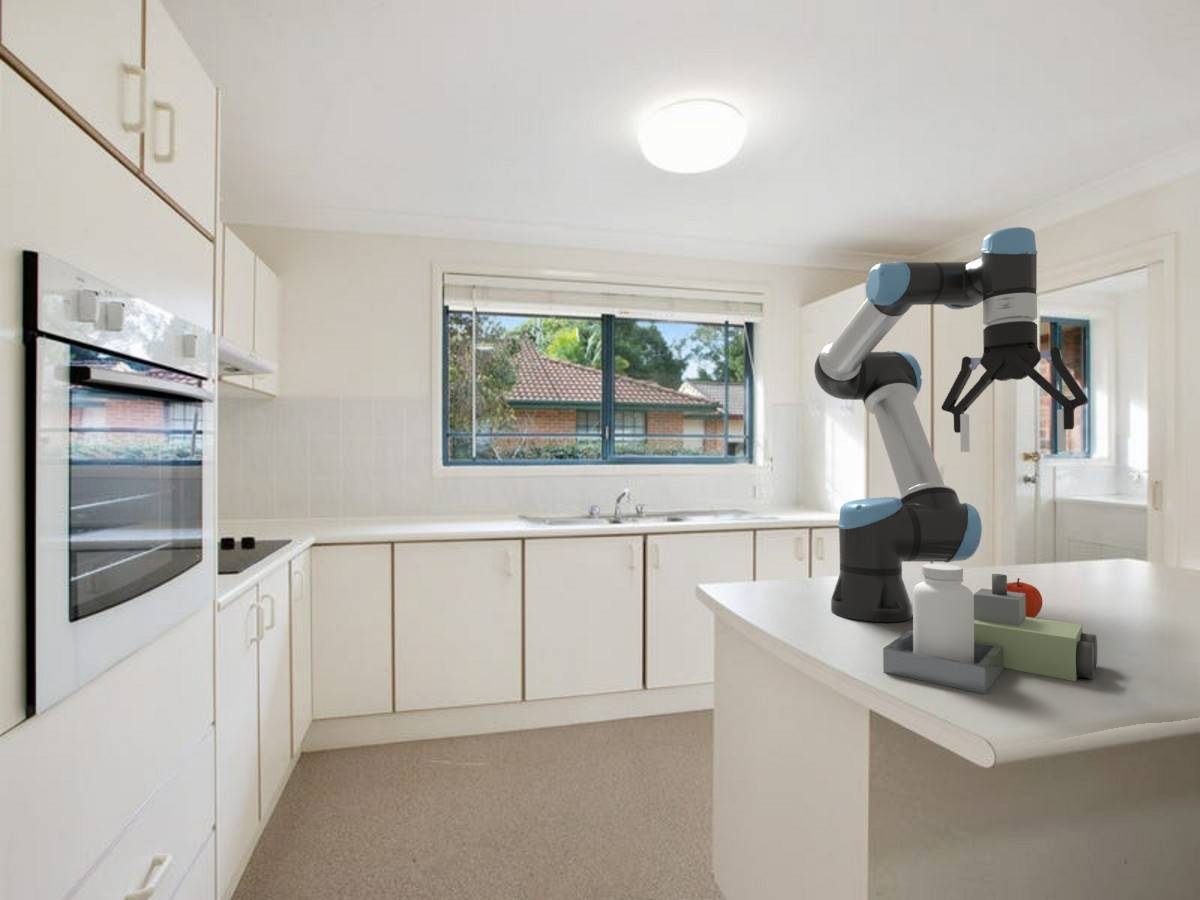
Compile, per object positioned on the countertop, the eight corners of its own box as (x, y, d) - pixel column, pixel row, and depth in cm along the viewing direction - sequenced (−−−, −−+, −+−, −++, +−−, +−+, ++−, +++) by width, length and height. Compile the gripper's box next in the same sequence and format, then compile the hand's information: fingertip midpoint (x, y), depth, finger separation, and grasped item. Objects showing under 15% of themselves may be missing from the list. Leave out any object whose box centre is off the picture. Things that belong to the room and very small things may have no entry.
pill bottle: (949, 679, 87) (948, 572, 87) (901, 662, 94) (900, 564, 94) (987, 671, 90) (985, 568, 90) (937, 656, 97) (936, 560, 98)
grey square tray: (883, 672, 92) (883, 648, 92) (910, 651, 101) (909, 630, 101) (985, 694, 83) (984, 667, 83) (1003, 669, 93) (1003, 646, 93)
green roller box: (923, 652, 101) (922, 572, 101) (941, 637, 109) (940, 563, 109) (1091, 684, 86) (1089, 590, 87) (1097, 664, 95) (1096, 579, 95)
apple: (1045, 618, 122) (1044, 577, 122) (1040, 626, 116) (1039, 583, 116) (998, 611, 128) (997, 572, 128) (990, 619, 122) (990, 578, 122)
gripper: (921, 331, 109) (923, 451, 109) (1103, 307, 92) (1105, 450, 92) (934, 337, 115) (935, 452, 114) (1108, 315, 98) (1110, 450, 97)
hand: (1011, 451), depth 103 cm, fingers open, 13 cm apart
